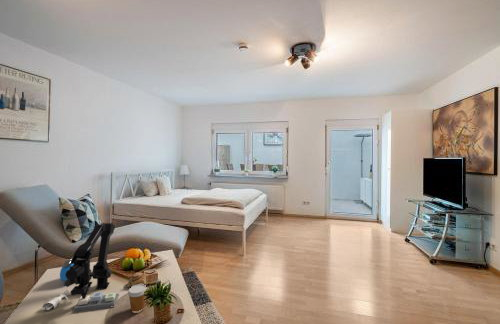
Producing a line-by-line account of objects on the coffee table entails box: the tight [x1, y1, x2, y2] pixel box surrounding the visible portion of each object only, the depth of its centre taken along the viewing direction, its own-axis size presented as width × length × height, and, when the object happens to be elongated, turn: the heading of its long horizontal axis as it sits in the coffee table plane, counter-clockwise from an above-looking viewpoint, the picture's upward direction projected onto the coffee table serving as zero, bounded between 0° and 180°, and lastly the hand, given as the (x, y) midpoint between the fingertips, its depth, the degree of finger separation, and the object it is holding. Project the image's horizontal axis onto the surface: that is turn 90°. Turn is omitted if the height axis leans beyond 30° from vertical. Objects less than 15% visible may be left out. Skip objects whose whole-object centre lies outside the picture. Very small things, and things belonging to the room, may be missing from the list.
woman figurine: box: [41, 290, 70, 311], centre depth 137 cm, size 12×4×18 cm
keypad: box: [73, 293, 120, 313], centre depth 138 cm, size 11×19×2 cm, turn 106°
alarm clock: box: [59, 256, 81, 282], centre depth 160 cm, size 13×6×15 cm, turn 178°
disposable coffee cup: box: [127, 284, 148, 311], centre depth 133 cm, size 10×10×12 cm
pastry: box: [127, 272, 145, 289], centre depth 158 cm, size 13×15×8 cm
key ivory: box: [77, 295, 91, 305], centre depth 136 cm, size 4×4×2 cm
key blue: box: [91, 291, 104, 301], centre depth 137 cm, size 4×4×2 cm
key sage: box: [105, 292, 117, 302], centre depth 139 cm, size 4×4×2 cm
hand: (84, 297), depth 136 cm, fingers closed, pressing on key ivory
